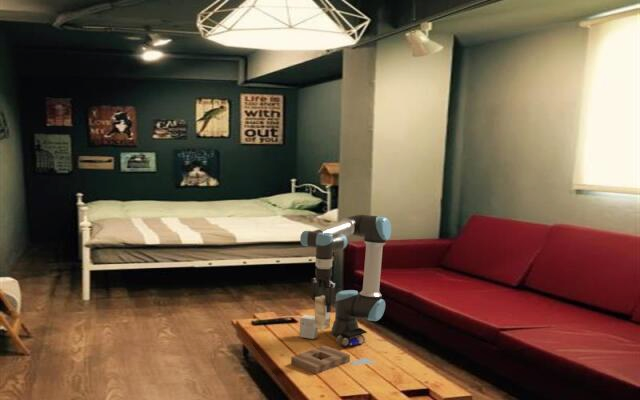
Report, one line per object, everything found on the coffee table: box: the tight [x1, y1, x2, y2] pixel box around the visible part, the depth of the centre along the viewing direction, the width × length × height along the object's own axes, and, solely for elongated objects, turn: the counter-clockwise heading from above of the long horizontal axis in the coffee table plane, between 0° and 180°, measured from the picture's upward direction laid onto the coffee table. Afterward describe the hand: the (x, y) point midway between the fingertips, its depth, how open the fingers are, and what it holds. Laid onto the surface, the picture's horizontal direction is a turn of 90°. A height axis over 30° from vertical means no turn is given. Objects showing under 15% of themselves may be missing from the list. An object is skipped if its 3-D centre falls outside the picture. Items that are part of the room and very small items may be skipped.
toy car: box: [335, 327, 368, 349], centre depth 290 cm, size 7×8×15 cm
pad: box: [350, 357, 378, 366], centre depth 266 cm, size 10×10×1 cm
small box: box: [299, 314, 319, 340], centre depth 301 cm, size 8×6×10 cm
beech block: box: [314, 295, 331, 331], centre depth 262 cm, size 5×5×14 cm
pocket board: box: [290, 345, 351, 375], centre depth 265 cm, size 22×16×4 cm
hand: (322, 317), depth 263 cm, fingers closed on beech block, 5 cm apart
